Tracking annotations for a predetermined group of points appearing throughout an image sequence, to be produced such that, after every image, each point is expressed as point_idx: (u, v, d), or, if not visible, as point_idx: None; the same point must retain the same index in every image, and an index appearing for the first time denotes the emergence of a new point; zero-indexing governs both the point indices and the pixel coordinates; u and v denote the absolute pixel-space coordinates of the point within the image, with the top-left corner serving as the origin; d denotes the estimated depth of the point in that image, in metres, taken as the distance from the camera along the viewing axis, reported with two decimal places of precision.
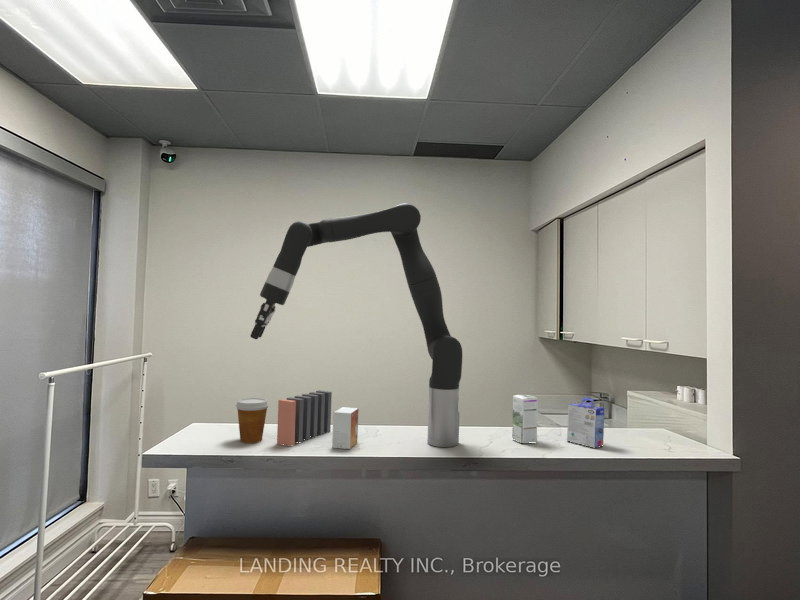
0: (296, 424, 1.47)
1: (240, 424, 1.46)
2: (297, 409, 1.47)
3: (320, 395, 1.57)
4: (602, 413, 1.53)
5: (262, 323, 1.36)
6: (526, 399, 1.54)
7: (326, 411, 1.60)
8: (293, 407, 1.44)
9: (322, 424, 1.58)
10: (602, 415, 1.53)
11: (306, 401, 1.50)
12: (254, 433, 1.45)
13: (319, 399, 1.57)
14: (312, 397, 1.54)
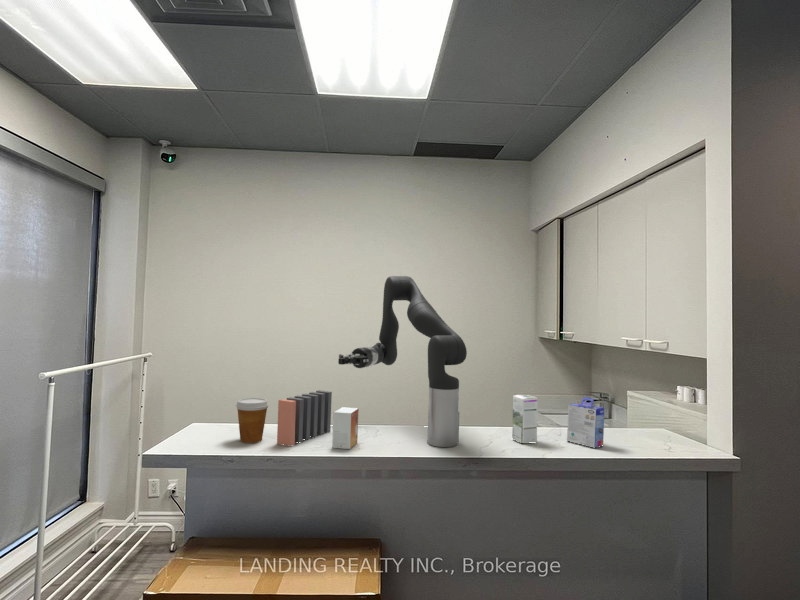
0: (296, 424, 1.47)
1: (240, 424, 1.46)
2: (297, 409, 1.47)
3: (320, 395, 1.57)
4: (602, 413, 1.53)
5: None
6: (526, 399, 1.54)
7: (326, 411, 1.60)
8: (293, 407, 1.44)
9: (322, 424, 1.58)
10: (602, 415, 1.53)
11: (306, 401, 1.50)
12: (254, 433, 1.45)
13: (319, 399, 1.57)
14: (312, 397, 1.54)
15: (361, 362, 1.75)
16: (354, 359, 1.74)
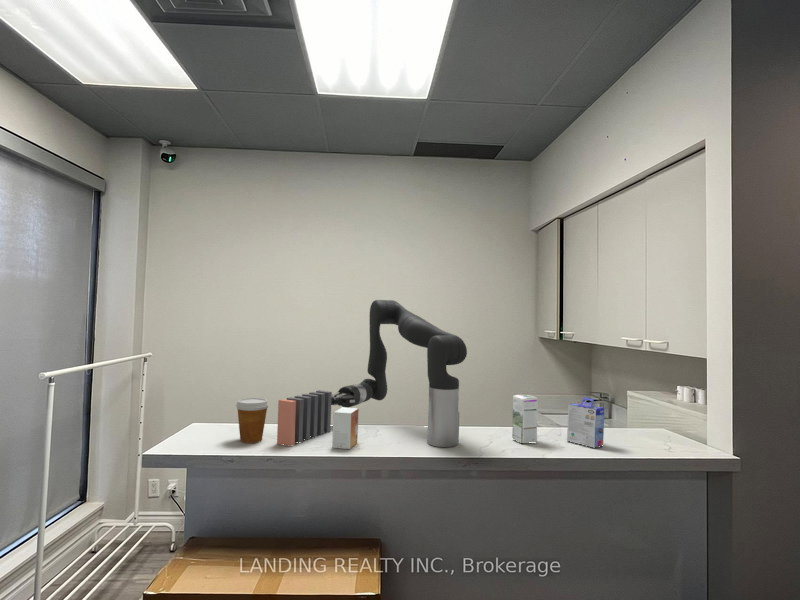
0: (296, 424, 1.47)
1: (240, 424, 1.46)
2: (297, 409, 1.47)
3: (320, 395, 1.57)
4: (602, 413, 1.53)
5: None
6: (526, 399, 1.54)
7: (326, 411, 1.60)
8: (293, 407, 1.44)
9: (322, 424, 1.58)
10: (602, 415, 1.53)
11: (306, 401, 1.50)
12: (254, 433, 1.45)
13: (319, 399, 1.57)
14: (312, 397, 1.54)
15: (347, 403, 1.67)
16: (340, 400, 1.66)
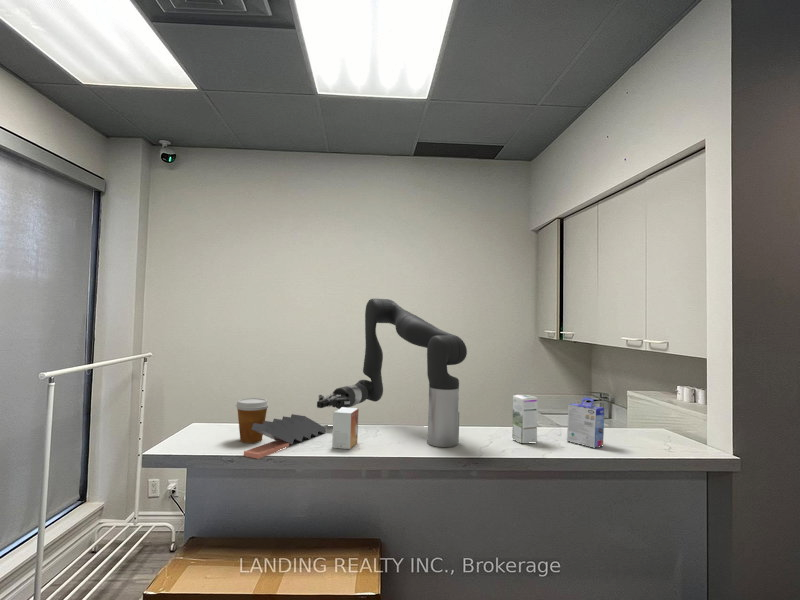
0: (278, 438, 1.40)
1: (240, 424, 1.46)
2: (269, 434, 1.37)
3: None
4: (602, 413, 1.53)
5: None
6: (526, 399, 1.54)
7: None
8: None
9: (312, 430, 1.53)
10: (602, 415, 1.53)
11: (276, 429, 1.39)
12: (254, 433, 1.45)
13: None
14: None
15: (342, 404, 1.64)
16: (334, 401, 1.63)
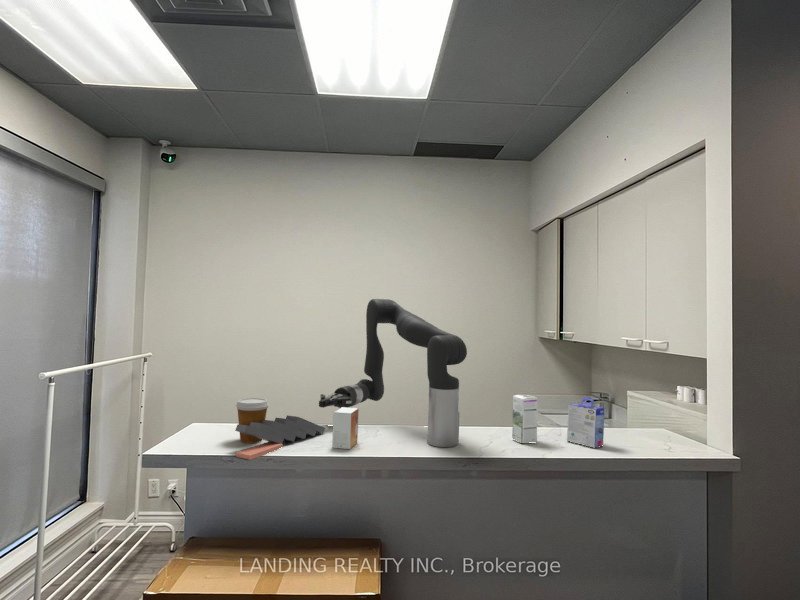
0: (264, 438, 1.40)
1: (240, 424, 1.46)
2: (251, 434, 1.37)
3: None
4: (602, 413, 1.53)
5: None
6: (526, 399, 1.54)
7: None
8: None
9: (308, 430, 1.52)
10: (602, 415, 1.53)
11: None
12: None
13: None
14: None
15: (343, 404, 1.65)
16: (336, 401, 1.64)
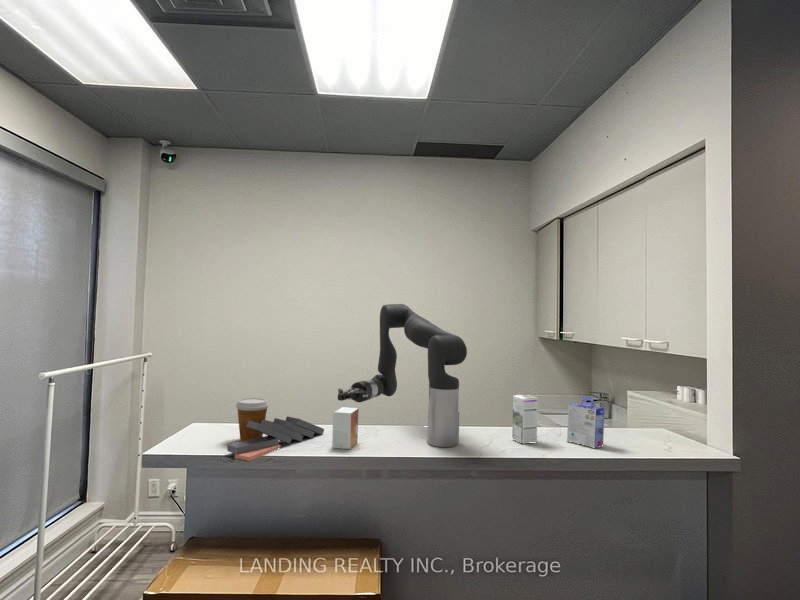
0: None
1: (240, 424, 1.46)
2: None
3: (283, 426, 1.44)
4: (602, 413, 1.53)
5: None
6: (526, 399, 1.54)
7: (308, 429, 1.53)
8: None
9: (306, 432, 1.51)
10: (602, 415, 1.53)
11: (258, 430, 1.37)
12: (254, 433, 1.45)
13: (285, 427, 1.45)
14: None
15: (360, 397, 1.75)
16: (353, 394, 1.74)
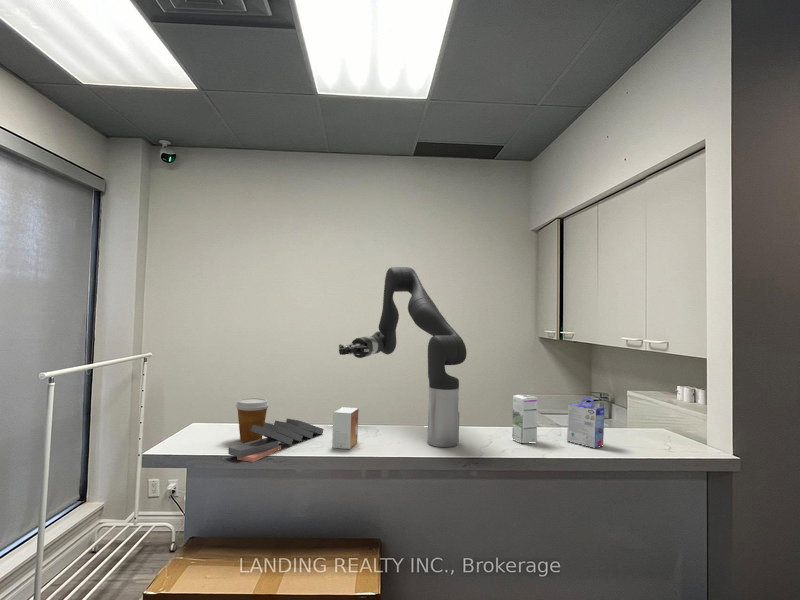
0: None
1: (240, 424, 1.46)
2: None
3: None
4: (602, 413, 1.53)
5: None
6: (526, 399, 1.54)
7: (308, 430, 1.52)
8: (256, 460, 1.30)
9: (306, 433, 1.50)
10: (602, 415, 1.53)
11: (265, 435, 1.34)
12: (254, 433, 1.45)
13: None
14: (275, 431, 1.38)
15: (362, 352, 1.75)
16: (355, 349, 1.74)
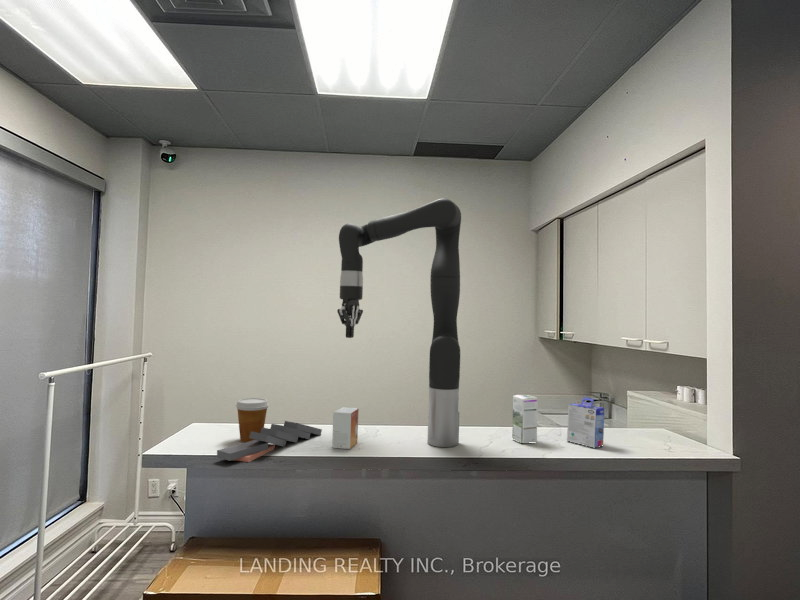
0: None
1: (240, 424, 1.46)
2: None
3: None
4: (602, 413, 1.53)
5: (347, 322, 1.59)
6: (526, 399, 1.54)
7: None
8: None
9: (303, 434, 1.49)
10: (602, 415, 1.53)
11: (265, 441, 1.32)
12: None
13: None
14: (273, 436, 1.37)
15: None
16: None
